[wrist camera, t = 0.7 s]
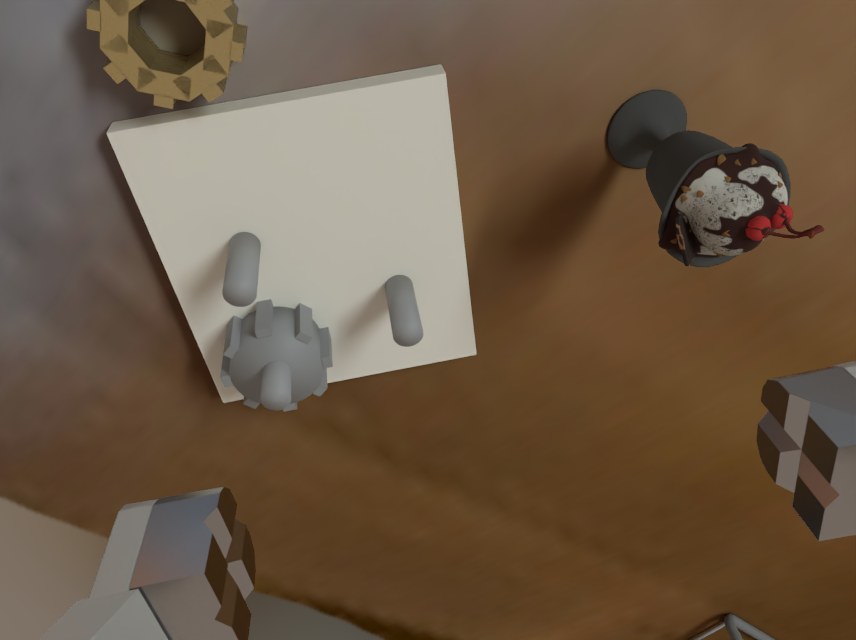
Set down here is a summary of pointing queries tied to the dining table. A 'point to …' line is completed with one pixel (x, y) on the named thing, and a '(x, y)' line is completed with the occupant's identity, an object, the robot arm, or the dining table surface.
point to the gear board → (309, 231)
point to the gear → (166, 70)
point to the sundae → (702, 182)
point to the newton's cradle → (732, 624)
